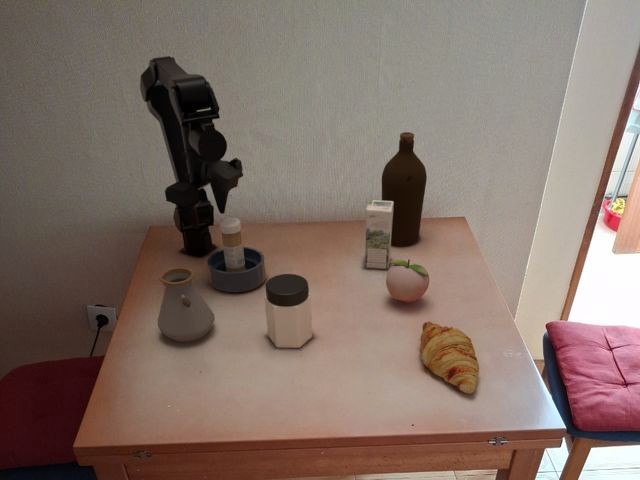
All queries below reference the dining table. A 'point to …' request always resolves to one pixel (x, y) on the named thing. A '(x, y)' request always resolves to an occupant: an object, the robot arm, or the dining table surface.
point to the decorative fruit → (407, 280)
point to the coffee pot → (183, 307)
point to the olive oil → (405, 191)
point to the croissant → (450, 356)
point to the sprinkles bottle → (232, 244)
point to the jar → (288, 310)
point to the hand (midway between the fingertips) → (209, 221)
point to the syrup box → (378, 234)
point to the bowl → (237, 280)
